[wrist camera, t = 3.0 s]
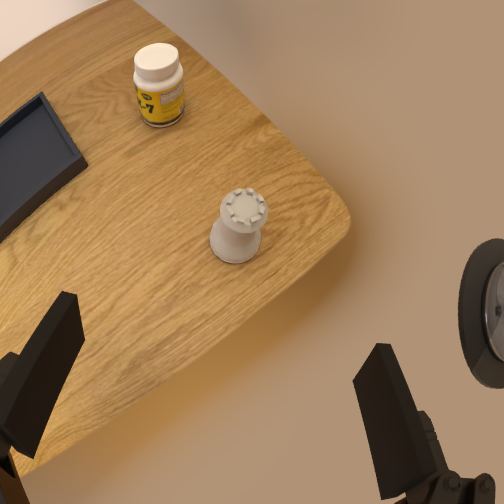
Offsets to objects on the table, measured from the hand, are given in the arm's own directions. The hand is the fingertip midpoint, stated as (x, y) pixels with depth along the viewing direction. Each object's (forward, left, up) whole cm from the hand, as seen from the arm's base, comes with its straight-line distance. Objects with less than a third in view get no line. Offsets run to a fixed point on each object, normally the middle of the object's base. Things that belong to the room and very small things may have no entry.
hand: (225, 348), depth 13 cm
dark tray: (+28, +6, -14) cm, 31 cm away
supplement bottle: (+21, -10, -14) cm, 28 cm away
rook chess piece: (+6, -7, -14) cm, 16 cm away
